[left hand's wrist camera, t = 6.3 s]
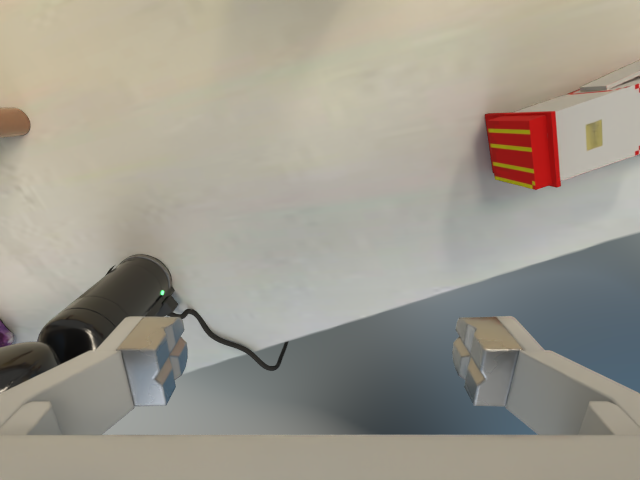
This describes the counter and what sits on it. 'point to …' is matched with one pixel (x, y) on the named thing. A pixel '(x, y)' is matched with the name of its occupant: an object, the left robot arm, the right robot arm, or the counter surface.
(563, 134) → the toy
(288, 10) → the counter surface
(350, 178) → the counter surface
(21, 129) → the bottle
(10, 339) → the figurine
